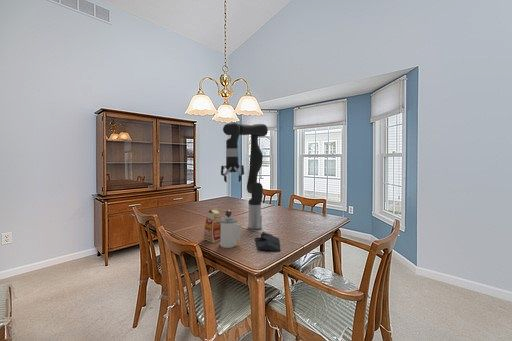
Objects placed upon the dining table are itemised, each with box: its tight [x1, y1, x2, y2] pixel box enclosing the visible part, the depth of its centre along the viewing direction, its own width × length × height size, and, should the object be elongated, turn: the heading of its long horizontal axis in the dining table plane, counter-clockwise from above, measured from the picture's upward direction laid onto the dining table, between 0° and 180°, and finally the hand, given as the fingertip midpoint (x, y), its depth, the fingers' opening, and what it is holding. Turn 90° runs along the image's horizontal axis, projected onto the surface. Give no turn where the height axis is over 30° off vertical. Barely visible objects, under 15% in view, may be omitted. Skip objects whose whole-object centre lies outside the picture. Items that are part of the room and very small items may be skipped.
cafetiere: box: [219, 216, 242, 249], centre depth 139 cm, size 12×9×15 cm
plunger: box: [225, 209, 232, 220], centre depth 139 cm, size 4×4×16 cm
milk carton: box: [202, 207, 221, 243], centre depth 149 cm, size 9×9×20 cm
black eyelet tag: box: [254, 231, 282, 253], centre depth 141 cm, size 15×22×5 cm
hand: (232, 181), depth 150 cm, fingers open, 8 cm apart
